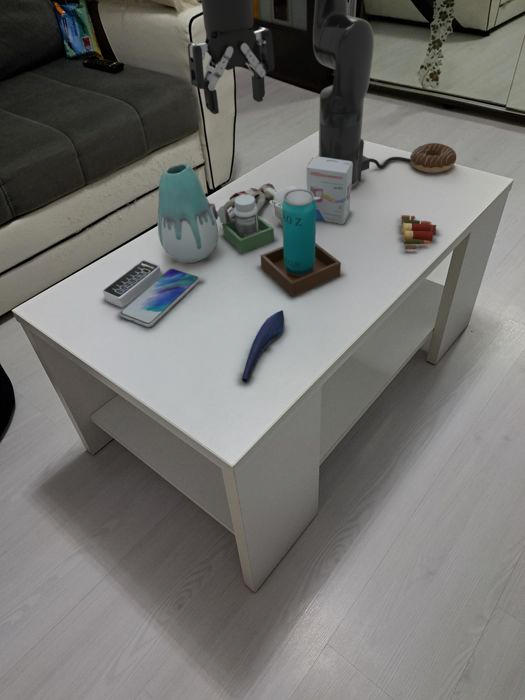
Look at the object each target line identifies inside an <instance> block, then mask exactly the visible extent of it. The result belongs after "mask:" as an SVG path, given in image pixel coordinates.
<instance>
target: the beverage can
mask: <svg viewBox="0 0 525 700" xmlns="http://www.w3.org/2000/svg"><path fill="white" fill-rule="evenodd" d="M283 198H284V201H283V203H282V219H283V226H282V246H283V249H284V265H285V267H286V269H287V271H288V272H289V273H290V274H291V275H293V276H305V275H307V274H309V273H310V272H311V270H312V268H313V266H314V264H315V243H316V234H317V233H316V229H317V228H316V227H317V226H316V225H317V220H316V202H315V200H314V194H313V193H312V192H311V191H309V190H307V188H299V189H294V190H290V191H288V192H286V193H285V194H284V197H283Z"/></svg>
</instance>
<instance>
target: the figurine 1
mask: <svg viewBox="0 0 525 700" xmlns="http://www.w3.org/2000/svg"><path fill="white" fill-rule="evenodd" d="M266 188H272V189H274V190H276V189H275V186H274V185H273V184H272V183H270V182H268V183H265V184H263V185H261V186H259V188H256V187H254V188H253V187H249V188H248V190H240V191H238V192H234V194H232V195H231V196H230V197H229V200H228V201H227V202H225V204H223V205H221V206H220V207H219V208H218V209H217V208H216V205H215V203H211V202H209V204H210V206H211V208H212V210H213V213H214V216H215V219H216V221H217V220H218V218H219V222H220V223H221V224H227V223H229V222H230V221H232V220H233V218H235V216H234V209H235V198H236V197H238V196H240V195H251V196H253V197H254V198H255V206H256V207H257V209H258V212H259V211H260V210H261V209H262V208H263V206H264V205H265V203H266V201H271V200H273V199H274V196H272V195H271V194H270V193H268V192H267V191H266Z"/></svg>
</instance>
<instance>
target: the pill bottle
mask: <svg viewBox="0 0 525 700" xmlns="http://www.w3.org/2000/svg"><path fill="white" fill-rule="evenodd" d="M234 216H235V217H234V220H235V225H236V234H237V235H238V236H239V237H240V238H241V239H242V238H245V237H247V236H250V235H253V234H255V233H258V232H259V221H258V216H259V211H258V209H257V207H256V204H255V198H254V197H253V196H251V195H240V196H238V197H236V198H235V209H234Z"/></svg>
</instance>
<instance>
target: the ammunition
mask: <svg viewBox="0 0 525 700" xmlns="http://www.w3.org/2000/svg"><path fill="white" fill-rule="evenodd" d="M400 220H401V233H402V241H403V244H404V249H405V250H418V247H419V246H418V245H428V244H429V245H430V244H431V243H433V242H432V241H433V239H434V235H435V234H436V231H437V224H432V222H431V221H430V220H429V221H428V220H418V219H416V216H415V215H411V216H410V215H406V214H401V216H400Z"/></svg>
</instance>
